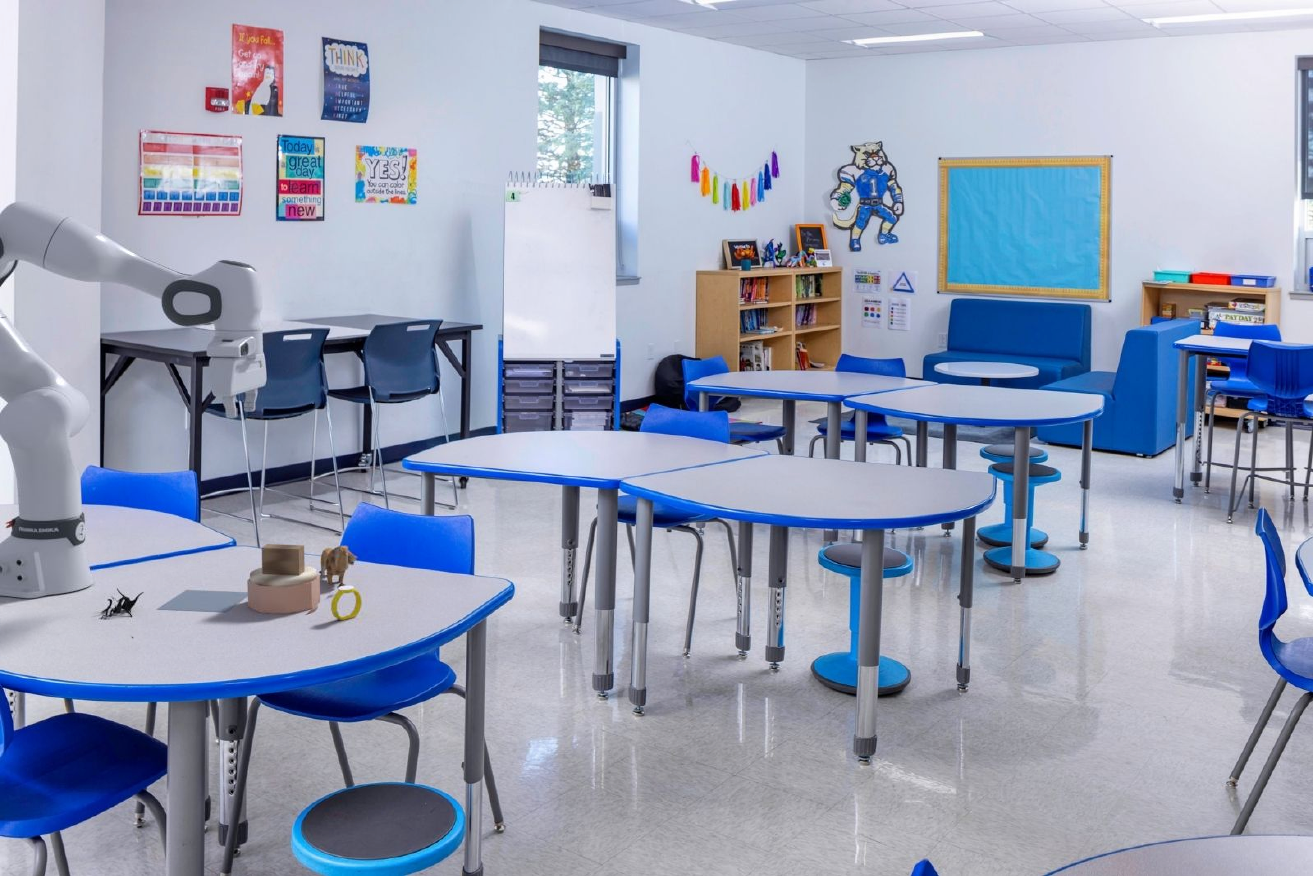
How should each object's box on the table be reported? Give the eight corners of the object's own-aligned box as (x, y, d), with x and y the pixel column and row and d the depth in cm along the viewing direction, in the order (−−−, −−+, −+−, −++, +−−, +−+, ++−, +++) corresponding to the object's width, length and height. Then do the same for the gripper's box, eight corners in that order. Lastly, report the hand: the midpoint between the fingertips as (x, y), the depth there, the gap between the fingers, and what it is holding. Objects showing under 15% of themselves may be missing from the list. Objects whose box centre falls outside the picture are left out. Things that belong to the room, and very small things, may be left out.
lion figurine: (359, 590, 247) (359, 546, 245) (334, 594, 244) (333, 549, 242) (331, 573, 258) (330, 531, 257) (306, 577, 255) (305, 534, 254)
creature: (121, 633, 220) (152, 612, 227) (115, 607, 218) (146, 586, 225) (86, 628, 222) (118, 607, 229) (80, 601, 220) (112, 581, 227)
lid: (239, 585, 226) (239, 553, 225) (263, 568, 238) (263, 537, 237) (304, 587, 226) (304, 555, 225) (325, 570, 238) (324, 540, 237)
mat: (156, 614, 227) (156, 609, 227) (186, 594, 240) (186, 589, 240) (226, 617, 227) (226, 612, 227) (252, 597, 240) (252, 592, 240)
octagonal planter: (240, 617, 227) (240, 585, 226) (264, 598, 239) (263, 568, 238) (305, 619, 227) (305, 587, 226) (325, 601, 239) (325, 570, 238)
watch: (339, 624, 225) (336, 593, 224) (329, 621, 227) (327, 590, 226) (365, 615, 230) (363, 584, 229) (355, 612, 232) (353, 582, 230)
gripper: (243, 339, 253) (244, 407, 255) (202, 348, 233) (204, 420, 235) (273, 340, 253) (275, 408, 255) (235, 349, 233) (237, 421, 235)
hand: (240, 414), depth 245 cm, fingers open, 8 cm apart
